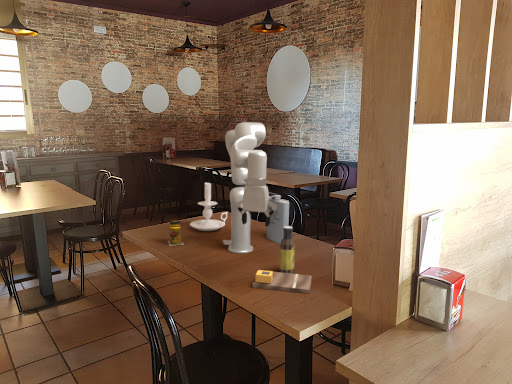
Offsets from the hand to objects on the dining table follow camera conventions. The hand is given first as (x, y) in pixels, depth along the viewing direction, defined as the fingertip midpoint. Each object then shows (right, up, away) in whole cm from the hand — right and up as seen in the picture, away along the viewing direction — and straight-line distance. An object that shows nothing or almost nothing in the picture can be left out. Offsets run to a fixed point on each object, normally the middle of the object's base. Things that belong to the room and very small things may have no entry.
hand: (255, 224), depth 157 cm
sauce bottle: (+13, -21, +11) cm, 27 cm away
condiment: (-42, -14, +45) cm, 63 cm away
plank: (+11, -23, -1) cm, 26 cm away
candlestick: (-27, -9, +74) cm, 79 cm away
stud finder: (+3, -22, -3) cm, 22 cm away
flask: (+11, -13, +54) cm, 57 cm away
